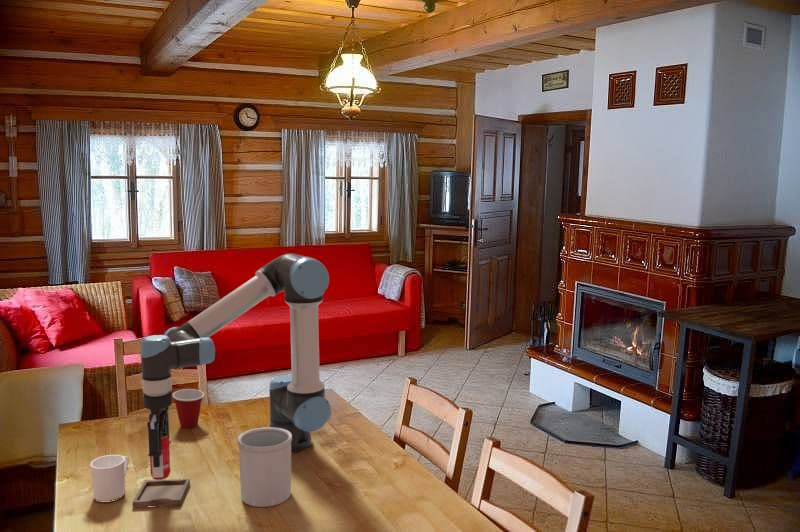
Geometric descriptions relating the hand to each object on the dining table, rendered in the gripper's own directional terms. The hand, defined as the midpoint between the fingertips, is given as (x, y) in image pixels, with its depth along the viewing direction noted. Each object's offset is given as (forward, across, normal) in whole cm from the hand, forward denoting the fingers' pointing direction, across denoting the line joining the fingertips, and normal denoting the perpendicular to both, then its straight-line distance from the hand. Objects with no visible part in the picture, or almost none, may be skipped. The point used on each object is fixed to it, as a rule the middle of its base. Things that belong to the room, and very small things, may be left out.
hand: (160, 471), depth 190 cm
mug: (+7, -2, -14) cm, 16 cm away
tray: (+7, 0, 0) cm, 7 cm away
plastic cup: (+7, -52, -3) cm, 53 cm away
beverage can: (+1, 0, 0) cm, 1 cm away
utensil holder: (+7, +2, +29) cm, 30 cm away
